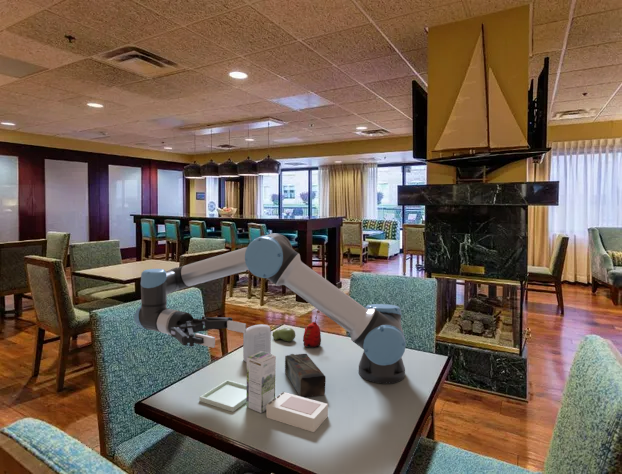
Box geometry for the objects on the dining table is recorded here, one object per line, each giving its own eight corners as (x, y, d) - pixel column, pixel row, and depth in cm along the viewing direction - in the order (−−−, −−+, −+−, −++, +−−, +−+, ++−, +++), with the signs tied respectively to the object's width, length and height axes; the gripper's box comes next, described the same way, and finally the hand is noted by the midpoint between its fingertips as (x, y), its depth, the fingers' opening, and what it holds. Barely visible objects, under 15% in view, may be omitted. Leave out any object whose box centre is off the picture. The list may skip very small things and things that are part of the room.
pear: (289, 330, 155) (269, 330, 159) (291, 343, 155) (271, 343, 160) (296, 326, 160) (276, 326, 164) (298, 339, 160) (278, 339, 165)
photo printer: (267, 353, 145) (267, 321, 144) (272, 357, 142) (272, 324, 141) (241, 359, 140) (241, 326, 138) (246, 363, 136) (246, 329, 135)
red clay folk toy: (305, 341, 158) (305, 305, 157) (322, 342, 157) (323, 306, 156) (301, 348, 151) (301, 310, 150) (319, 349, 150) (319, 311, 148)
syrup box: (260, 399, 112) (260, 350, 110) (275, 405, 108) (275, 354, 107) (246, 407, 107) (245, 356, 106) (261, 414, 104) (261, 361, 102)
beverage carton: (307, 369, 132) (307, 350, 132) (326, 396, 114) (326, 374, 113) (284, 372, 130) (284, 353, 129) (300, 400, 112) (300, 378, 111)
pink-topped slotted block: (266, 417, 102) (266, 403, 102) (282, 403, 109) (282, 390, 109) (313, 432, 96) (313, 417, 95) (327, 416, 103) (327, 402, 102)
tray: (199, 401, 110) (199, 396, 110) (227, 383, 121) (227, 379, 121) (233, 411, 105) (233, 407, 105) (259, 392, 115) (259, 388, 115)
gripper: (204, 324, 132) (256, 335, 122) (142, 347, 110) (199, 363, 100) (204, 302, 131) (256, 311, 121) (141, 321, 109) (198, 335, 99)
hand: (230, 335), depth 111 cm, fingers open, 13 cm apart
